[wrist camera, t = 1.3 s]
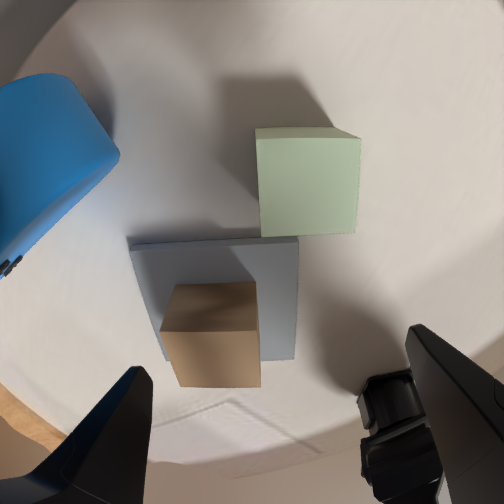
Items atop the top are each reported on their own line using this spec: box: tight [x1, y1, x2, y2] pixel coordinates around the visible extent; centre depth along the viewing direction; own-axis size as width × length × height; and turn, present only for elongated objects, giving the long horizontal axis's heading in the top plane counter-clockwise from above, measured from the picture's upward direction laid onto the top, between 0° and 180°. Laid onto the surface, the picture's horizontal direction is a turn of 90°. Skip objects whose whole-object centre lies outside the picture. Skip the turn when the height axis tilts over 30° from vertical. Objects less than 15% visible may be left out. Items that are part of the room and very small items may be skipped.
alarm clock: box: [0, 74, 120, 280], centre depth 11 cm, size 13×6×15 cm, turn 121°
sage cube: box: [255, 127, 361, 237], centre depth 16 cm, size 5×5×5 cm
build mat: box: [129, 236, 299, 361], centre depth 23 cm, size 12×12×1 cm
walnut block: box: [159, 282, 261, 388], centre depth 21 cm, size 6×6×5 cm
